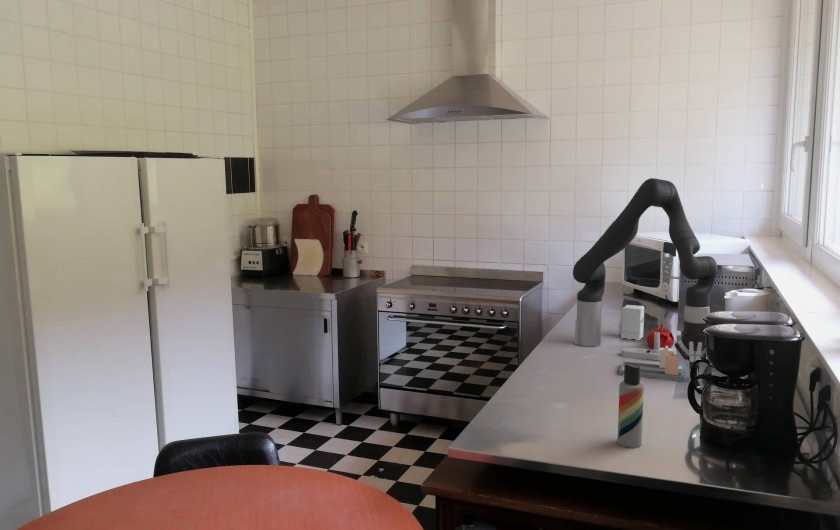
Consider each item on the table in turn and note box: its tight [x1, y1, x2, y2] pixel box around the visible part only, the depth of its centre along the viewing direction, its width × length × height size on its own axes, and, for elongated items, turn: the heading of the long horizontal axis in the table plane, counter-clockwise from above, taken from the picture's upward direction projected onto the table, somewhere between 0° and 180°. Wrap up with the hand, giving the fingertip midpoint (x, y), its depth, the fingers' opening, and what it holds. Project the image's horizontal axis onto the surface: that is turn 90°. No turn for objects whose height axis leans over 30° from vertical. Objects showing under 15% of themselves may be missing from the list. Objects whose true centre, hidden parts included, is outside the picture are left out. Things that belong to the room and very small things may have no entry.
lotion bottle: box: [617, 364, 645, 449], centre depth 163 cm, size 6×6×20 cm
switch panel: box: [618, 360, 686, 382], centre depth 220 cm, size 20×12×2 cm, turn 68°
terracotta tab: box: [665, 351, 680, 375], centre depth 214 cm, size 4×3×7 cm
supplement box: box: [620, 304, 645, 341], centre depth 266 cm, size 7×7×13 cm
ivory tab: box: [658, 346, 674, 368], centre depth 221 cm, size 4×3×7 cm
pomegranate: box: [645, 323, 675, 350], centre depth 250 cm, size 10×10×9 cm
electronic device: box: [620, 332, 660, 361], centre depth 239 cm, size 5×10×15 cm
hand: (694, 372), depth 212 cm, fingers closed
